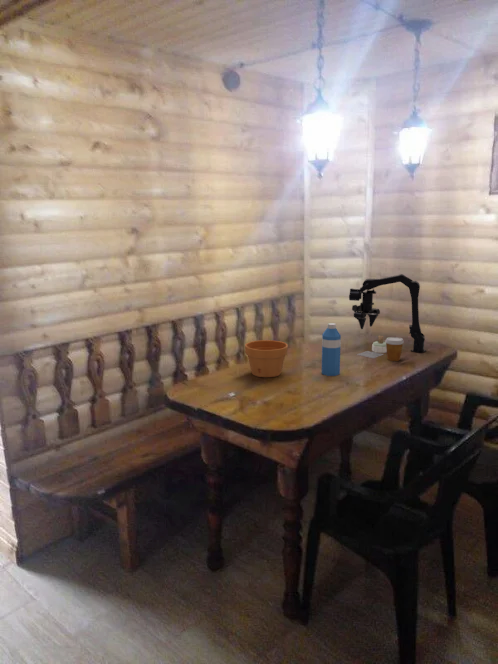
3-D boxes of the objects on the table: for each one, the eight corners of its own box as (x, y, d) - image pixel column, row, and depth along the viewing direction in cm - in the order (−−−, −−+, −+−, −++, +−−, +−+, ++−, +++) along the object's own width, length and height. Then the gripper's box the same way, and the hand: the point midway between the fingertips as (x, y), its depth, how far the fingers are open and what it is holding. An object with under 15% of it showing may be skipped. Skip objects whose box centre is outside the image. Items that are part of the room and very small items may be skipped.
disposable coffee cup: (401, 358, 302) (402, 337, 299) (404, 363, 293) (405, 341, 290) (383, 358, 303) (384, 336, 300) (385, 363, 294) (386, 340, 291)
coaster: (367, 352, 315) (367, 350, 315) (384, 355, 308) (384, 354, 308) (356, 355, 308) (356, 354, 308) (373, 359, 300) (373, 358, 300)
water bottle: (342, 371, 279) (343, 322, 274) (336, 376, 271) (338, 326, 266) (324, 369, 283) (325, 321, 278) (318, 374, 275) (319, 325, 269)
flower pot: (253, 365, 291) (253, 338, 288) (292, 369, 284) (292, 341, 281) (239, 377, 272) (238, 348, 268) (280, 381, 265) (280, 351, 261)
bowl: (377, 348, 322) (377, 342, 321) (391, 351, 316) (392, 344, 315) (368, 351, 316) (369, 345, 315) (382, 354, 310) (383, 347, 309)
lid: (378, 342, 320) (378, 333, 319) (390, 344, 315) (390, 335, 314) (370, 345, 315) (370, 336, 314) (383, 347, 309) (383, 338, 308)
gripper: (364, 297, 331) (363, 323, 334) (346, 301, 318) (345, 328, 321) (381, 299, 323) (379, 326, 326) (362, 303, 310) (361, 331, 314)
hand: (366, 327), depth 322 cm, fingers open, 9 cm apart
